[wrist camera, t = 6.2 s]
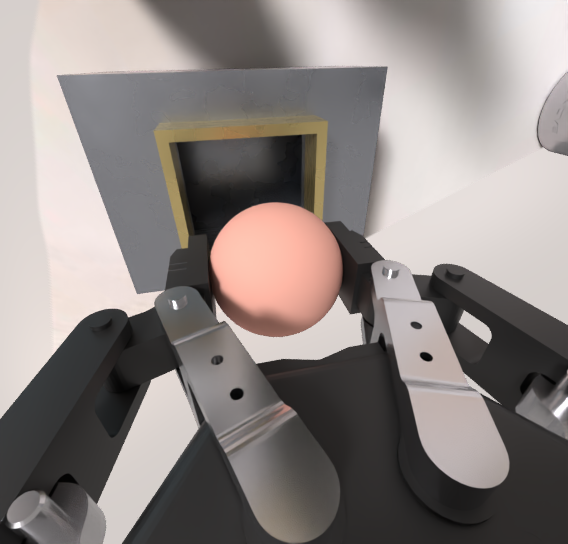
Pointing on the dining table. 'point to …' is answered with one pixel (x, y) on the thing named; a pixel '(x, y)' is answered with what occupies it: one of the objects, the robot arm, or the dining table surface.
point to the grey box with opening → (223, 150)
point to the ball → (275, 269)
